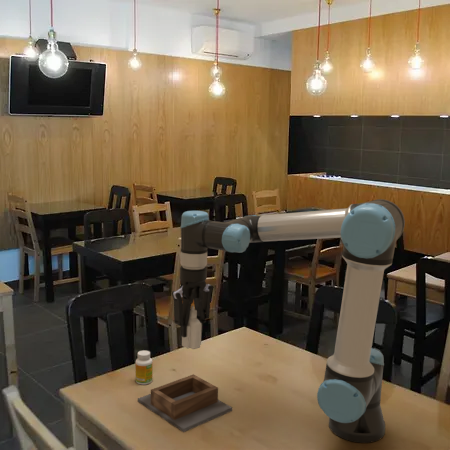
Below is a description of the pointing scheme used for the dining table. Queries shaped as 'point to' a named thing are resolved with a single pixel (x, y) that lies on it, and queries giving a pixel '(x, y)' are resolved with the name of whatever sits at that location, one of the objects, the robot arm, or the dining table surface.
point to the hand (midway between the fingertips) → (191, 344)
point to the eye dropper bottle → (194, 329)
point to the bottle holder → (186, 402)
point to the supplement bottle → (143, 368)
